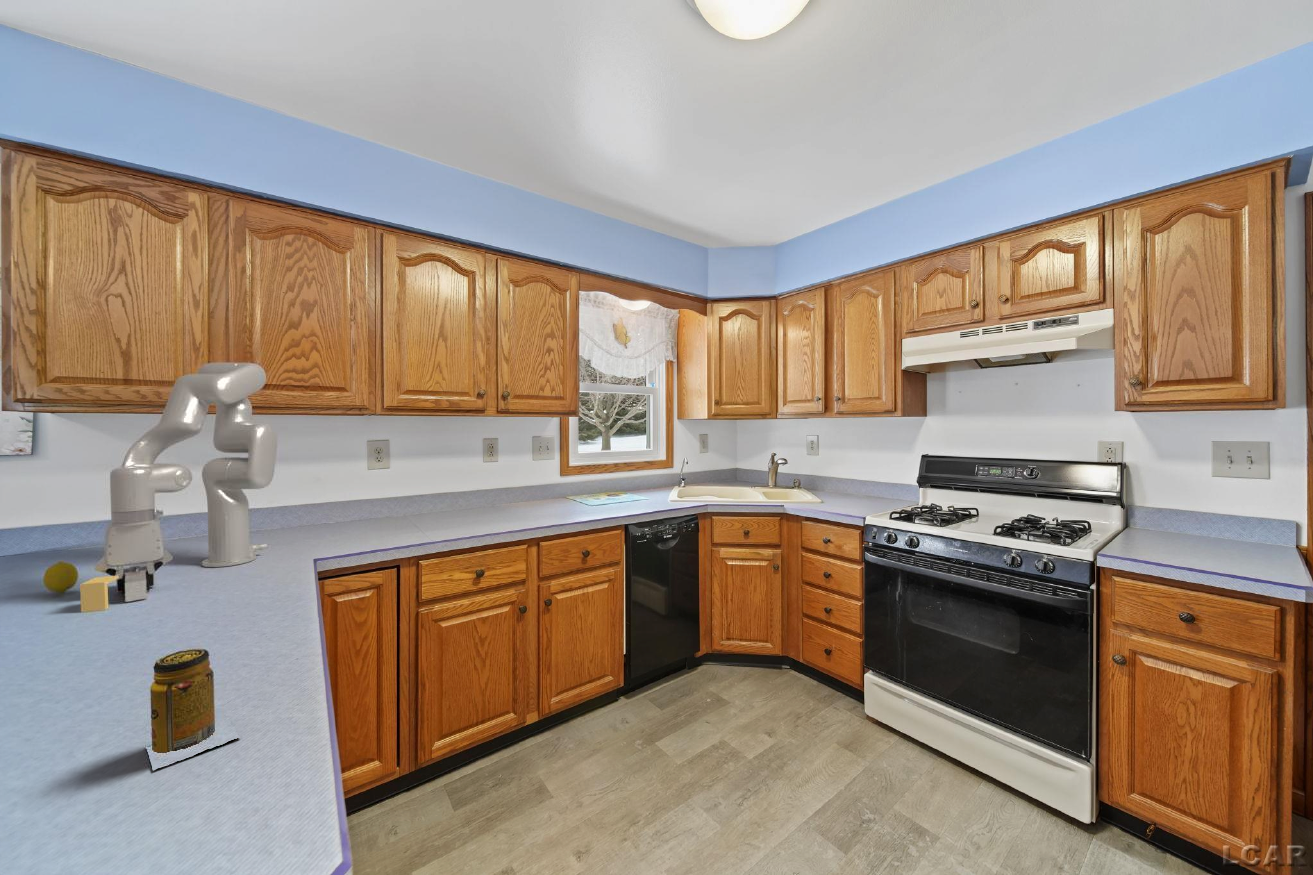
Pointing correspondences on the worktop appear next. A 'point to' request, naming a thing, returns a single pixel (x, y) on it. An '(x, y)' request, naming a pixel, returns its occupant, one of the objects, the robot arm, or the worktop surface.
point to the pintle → (134, 568)
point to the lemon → (60, 577)
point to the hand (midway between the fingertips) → (135, 590)
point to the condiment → (182, 701)
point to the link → (135, 584)
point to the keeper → (95, 593)
